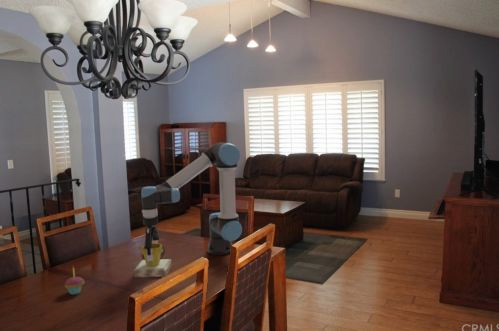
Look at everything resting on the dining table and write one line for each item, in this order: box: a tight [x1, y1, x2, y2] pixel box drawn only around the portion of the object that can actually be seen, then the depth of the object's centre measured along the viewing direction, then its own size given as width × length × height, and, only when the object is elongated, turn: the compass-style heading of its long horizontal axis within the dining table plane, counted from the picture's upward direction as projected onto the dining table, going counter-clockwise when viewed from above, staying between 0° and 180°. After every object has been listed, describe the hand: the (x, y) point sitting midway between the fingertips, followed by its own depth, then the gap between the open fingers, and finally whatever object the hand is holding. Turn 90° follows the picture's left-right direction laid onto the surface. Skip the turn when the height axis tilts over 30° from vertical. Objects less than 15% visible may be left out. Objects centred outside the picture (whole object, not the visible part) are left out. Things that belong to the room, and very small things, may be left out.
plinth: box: [133, 258, 172, 278], centre depth 227 cm, size 16×16×4 cm
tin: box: [141, 244, 166, 260], centre depth 244 cm, size 15×3×8 cm, turn 143°
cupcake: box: [64, 265, 85, 295], centre depth 202 cm, size 9×8×12 cm
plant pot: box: [141, 243, 162, 266], centre depth 225 cm, size 10×10×10 cm
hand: (152, 256), depth 226 cm, fingers open, 13 cm apart
